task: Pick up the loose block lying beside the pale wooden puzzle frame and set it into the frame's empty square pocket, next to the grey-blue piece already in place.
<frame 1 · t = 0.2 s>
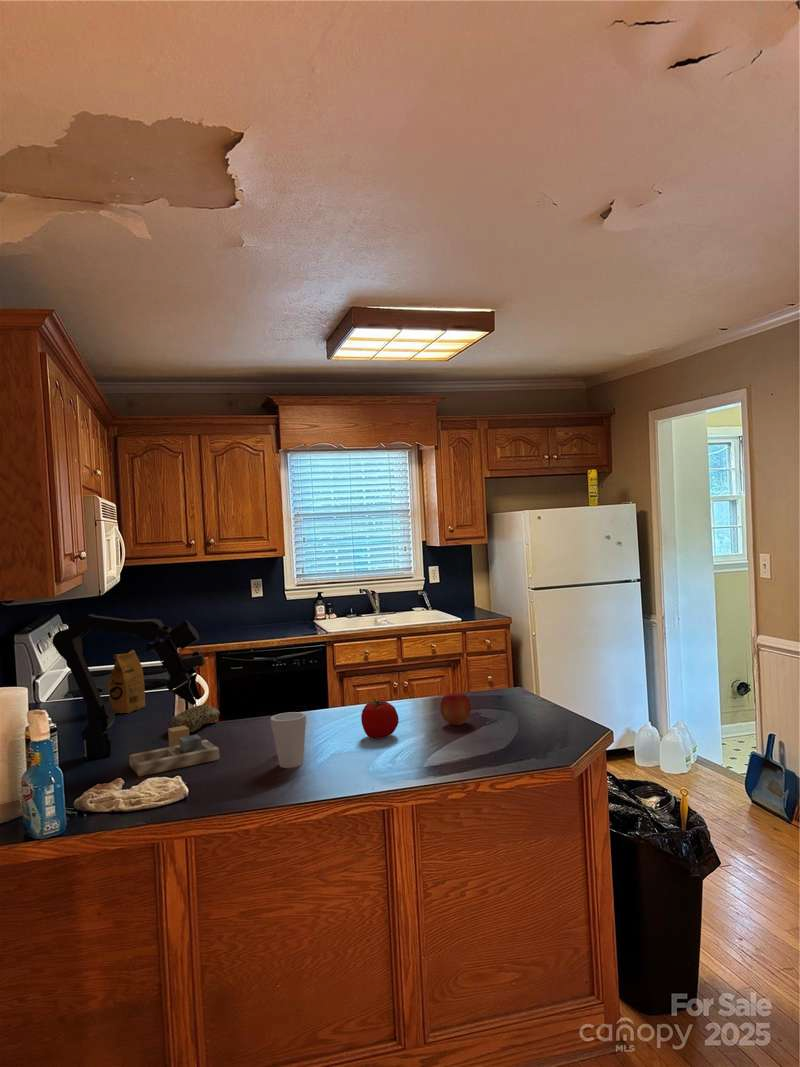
hand: (197, 701, 227), 14 cm above the worktop, tool tilted 25°, fingers open, 9 cm apart
speckled rock: (194, 729, 252), on the worktop
tomato: (380, 738, 226), on the worktop
coffee package: (127, 711, 286), on the worktop
apple: (456, 725, 236), on the worktop
foam cup: (291, 765, 205), on the worktop
puzzle frame: (174, 762, 214), on the worktop
block: (179, 748, 229), on the worktop
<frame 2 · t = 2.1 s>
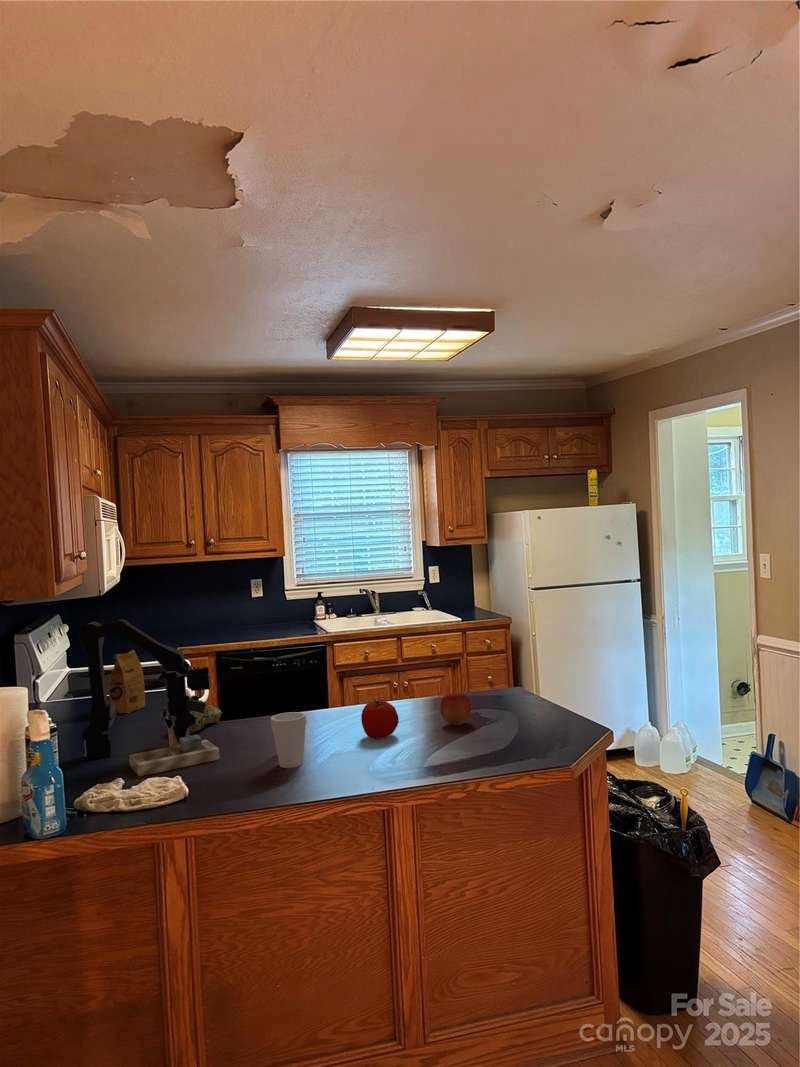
hand: (179, 744, 229), 1 cm above the worktop, tool pointing down, fingers closed on block, 5 cm apart
block: (179, 748, 229), on the worktop, touching gripper
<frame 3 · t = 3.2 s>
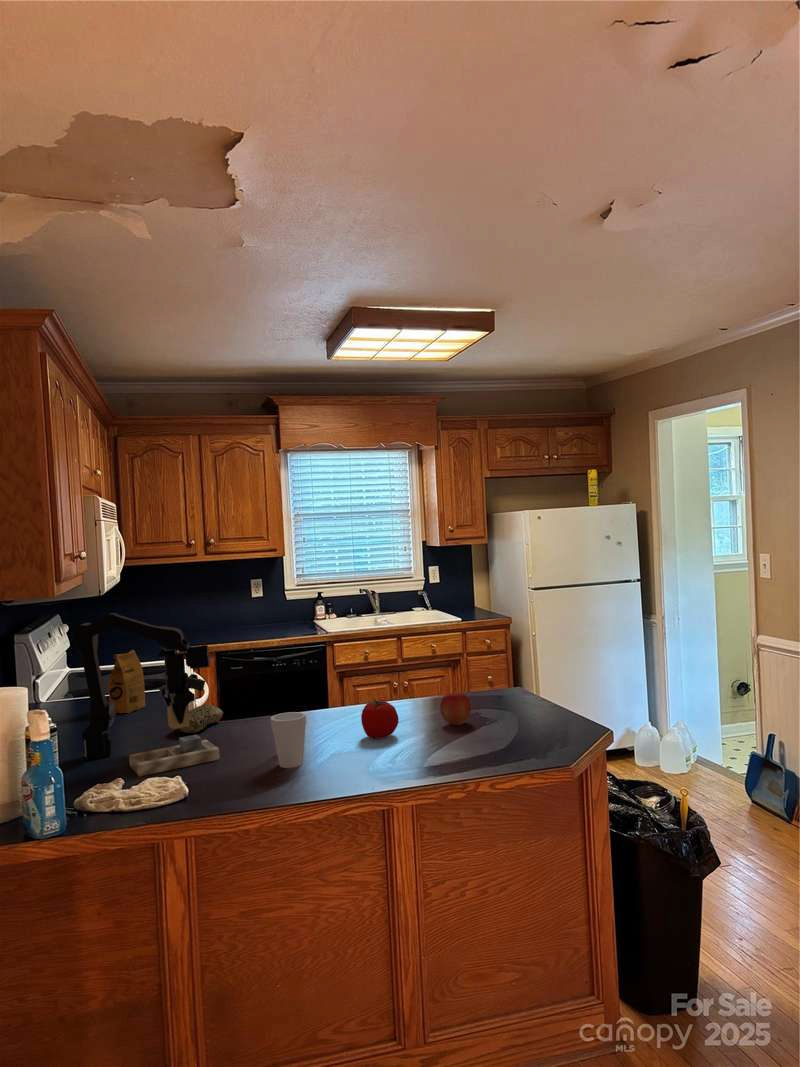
hand: (178, 721, 229), 8 cm above the worktop, tool pointing down, fingers closed on block, 5 cm apart
block: (178, 726, 229), point 7 cm above the worktop, touching gripper
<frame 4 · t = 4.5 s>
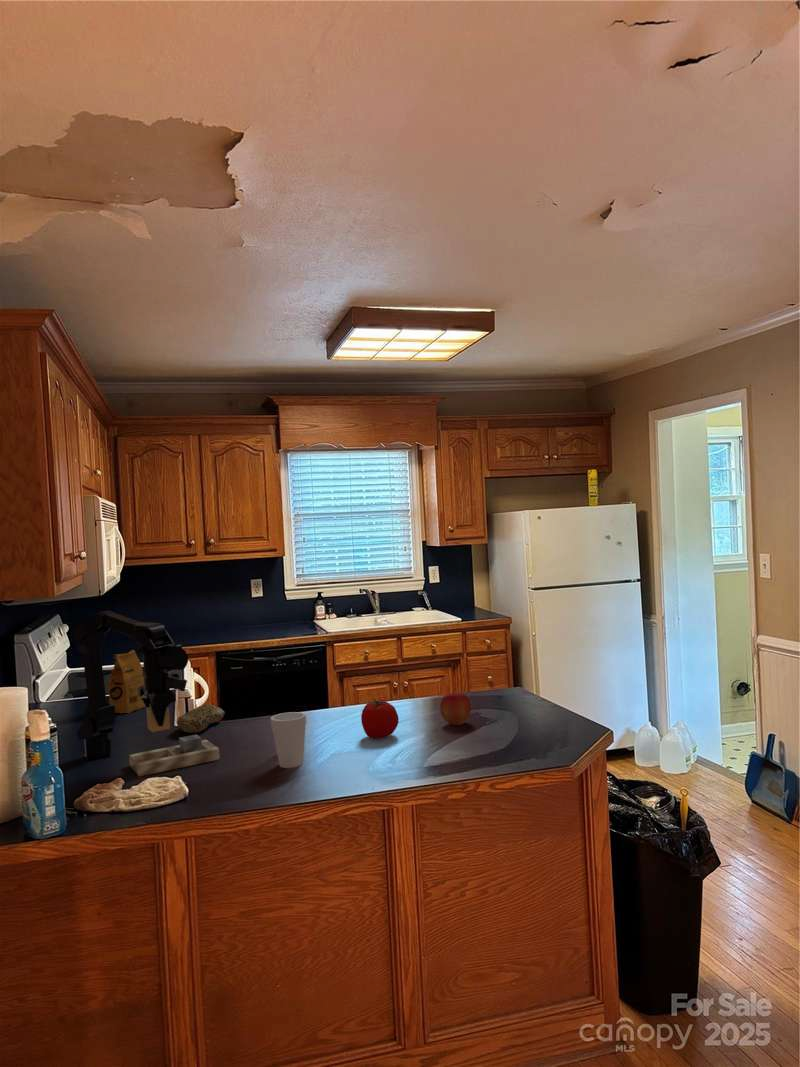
hand: (158, 724, 214), 11 cm above the worktop, tool pointing down, fingers closed on block, 5 cm apart
block: (159, 728, 214), point 10 cm above the worktop, touching gripper
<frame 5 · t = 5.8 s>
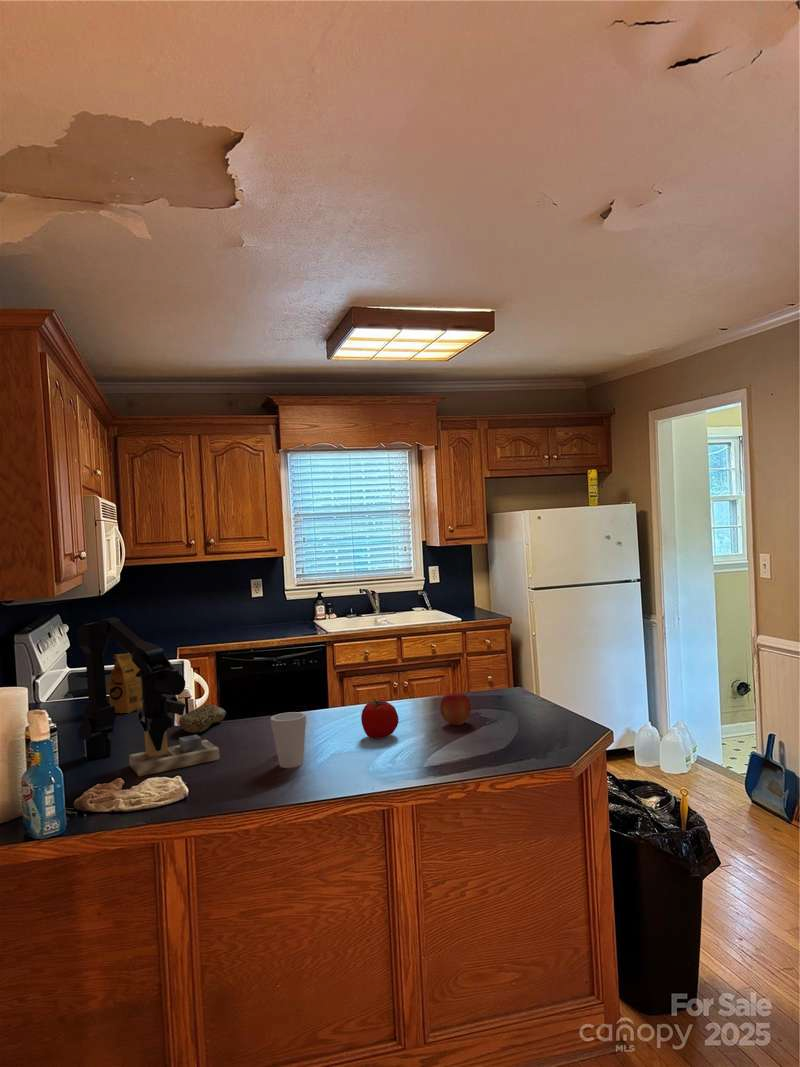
hand: (156, 748, 212), 5 cm above the worktop, tool pointing down, fingers closed on block, 5 cm apart
block: (156, 753, 212), point 4 cm above the worktop, touching gripper
when the fingers open (4 cm above the worktop, at t = 6.8 s): block drops 3 cm, resting in puzzle frame.
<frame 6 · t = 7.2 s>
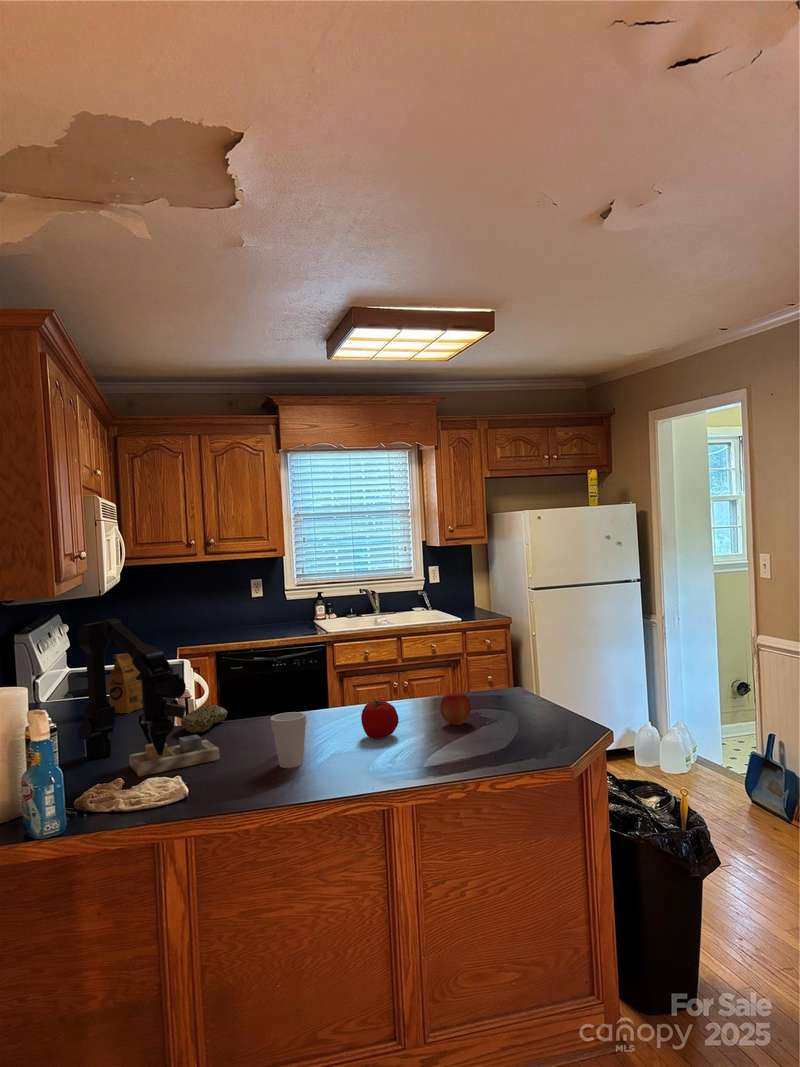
hand: (156, 751, 212), 4 cm above the worktop, tool pointing down, fingers open, 9 cm apart
block: (157, 766, 212), resting in puzzle frame
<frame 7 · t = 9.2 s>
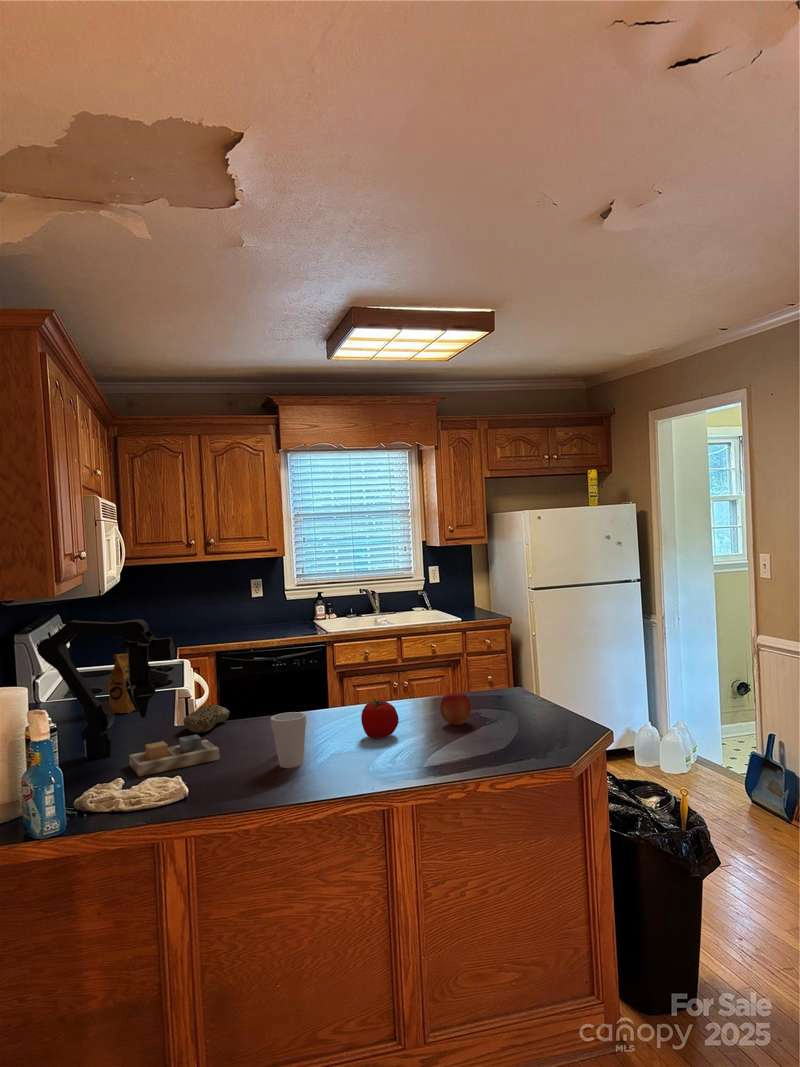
hand: (140, 714, 226), 11 cm above the worktop, tool pointing down, fingers open, 9 cm apart
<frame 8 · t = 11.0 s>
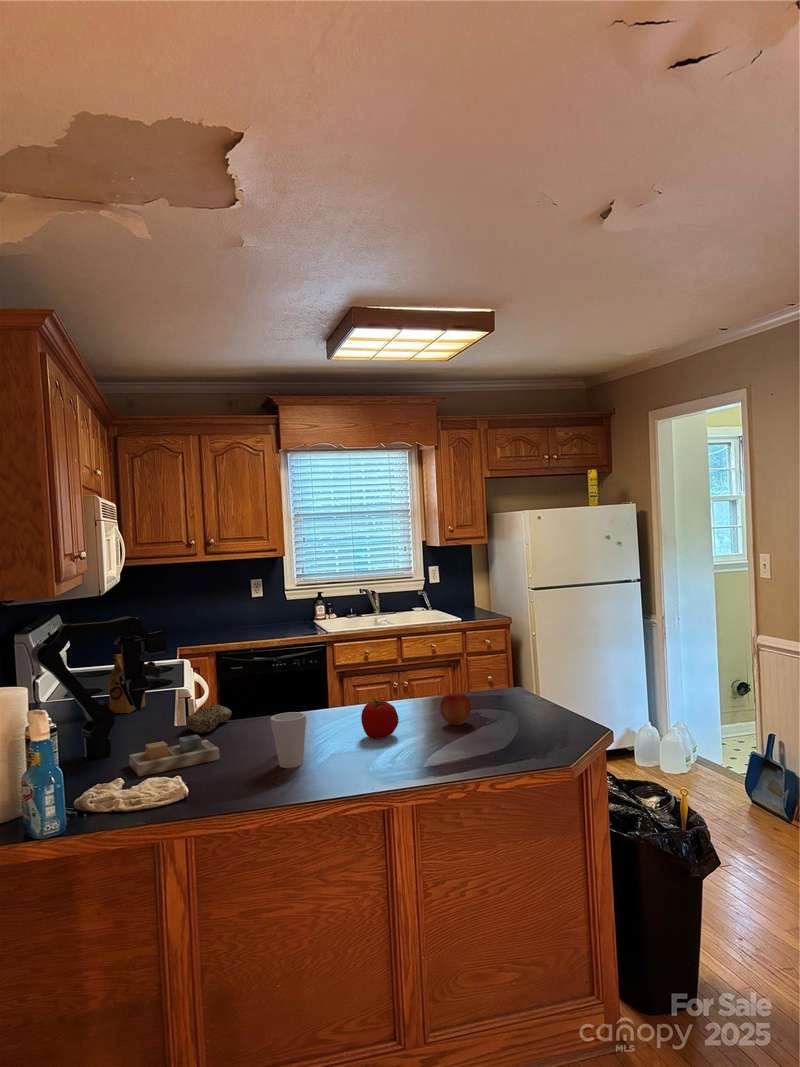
hand: (135, 708, 233), 12 cm above the worktop, tool pointing down, fingers open, 9 cm apart
at the end: block 0.1 cm from the target spot on the puzzle frame, point 0.0 cm above the puzzle frame's base; block tilted 0°; the gripper is holding nothing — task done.
